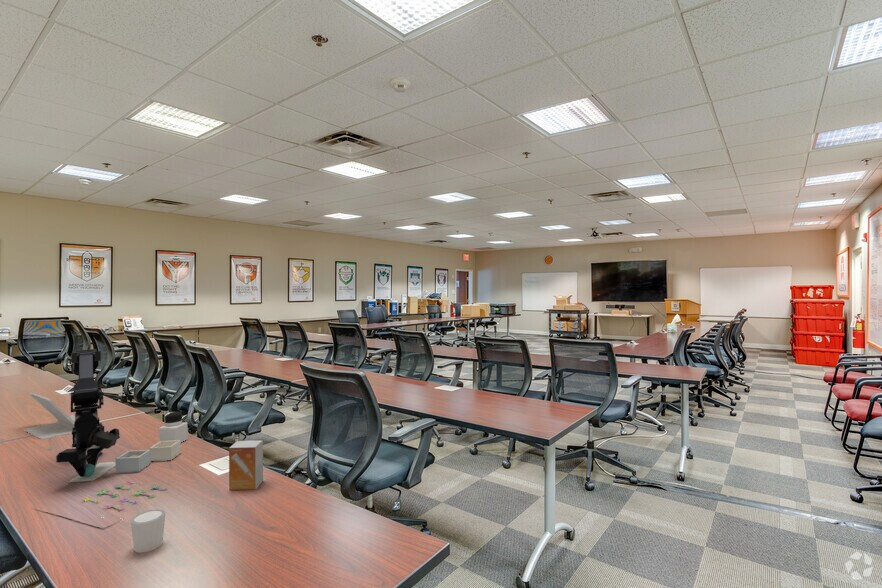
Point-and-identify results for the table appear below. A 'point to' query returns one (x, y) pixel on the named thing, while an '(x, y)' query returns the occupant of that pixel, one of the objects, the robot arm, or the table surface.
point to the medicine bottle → (173, 428)
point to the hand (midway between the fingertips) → (87, 473)
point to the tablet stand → (52, 429)
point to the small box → (245, 465)
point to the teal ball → (89, 470)
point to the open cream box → (165, 450)
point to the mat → (96, 472)
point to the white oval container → (148, 530)
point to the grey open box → (133, 461)
